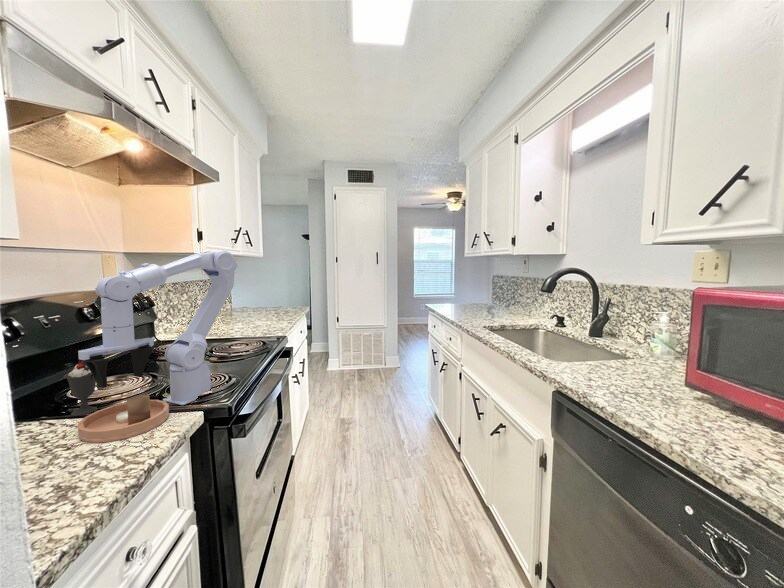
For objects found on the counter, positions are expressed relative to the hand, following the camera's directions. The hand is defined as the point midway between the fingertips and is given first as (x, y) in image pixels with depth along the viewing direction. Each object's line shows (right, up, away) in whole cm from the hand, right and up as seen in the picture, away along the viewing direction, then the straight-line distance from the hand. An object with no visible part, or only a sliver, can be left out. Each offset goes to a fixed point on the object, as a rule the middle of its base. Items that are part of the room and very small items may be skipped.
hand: (121, 381), depth 75 cm
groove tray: (+3, -10, -2) cm, 10 cm away
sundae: (-13, -9, +4) cm, 16 cm away
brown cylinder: (+7, -9, -4) cm, 12 cm away
